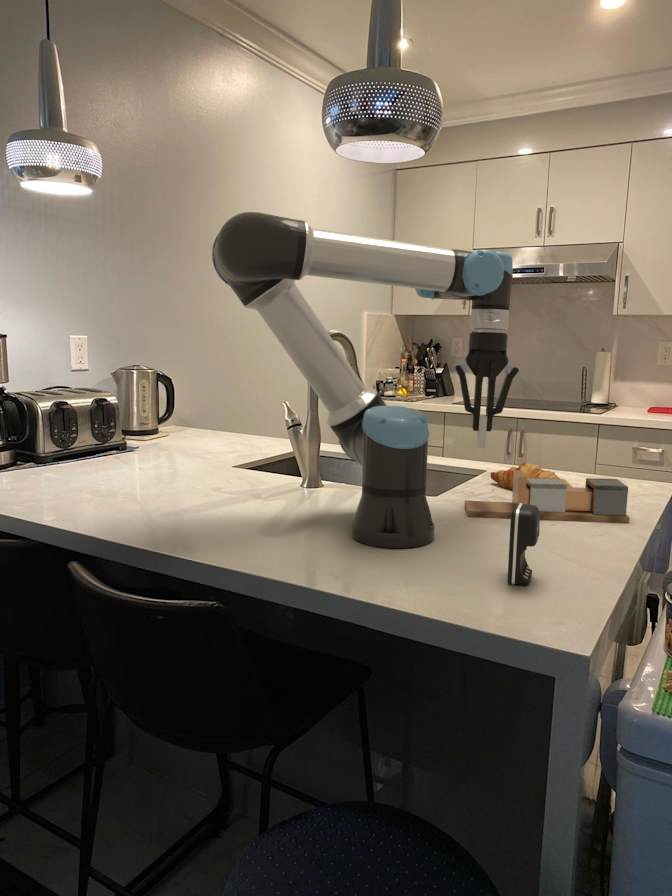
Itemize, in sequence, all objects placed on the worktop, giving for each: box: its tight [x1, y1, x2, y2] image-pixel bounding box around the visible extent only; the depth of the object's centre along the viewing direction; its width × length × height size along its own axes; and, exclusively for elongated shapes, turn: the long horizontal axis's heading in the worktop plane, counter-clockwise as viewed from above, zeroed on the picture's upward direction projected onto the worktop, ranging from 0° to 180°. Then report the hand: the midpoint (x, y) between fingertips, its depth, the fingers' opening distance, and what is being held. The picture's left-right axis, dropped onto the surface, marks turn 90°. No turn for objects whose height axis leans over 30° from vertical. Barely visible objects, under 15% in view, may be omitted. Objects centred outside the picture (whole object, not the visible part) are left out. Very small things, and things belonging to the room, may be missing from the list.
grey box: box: [584, 477, 629, 516], centre depth 139 cm, size 6×8×6 cm
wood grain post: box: [511, 470, 594, 511], centre depth 140 cm, size 20×7×7 cm, turn 84°
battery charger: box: [506, 503, 541, 586], centre depth 102 cm, size 7×4×11 cm, turn 159°
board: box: [464, 500, 630, 524], centre depth 141 cm, size 32×9×1 cm, turn 84°
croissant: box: [490, 462, 573, 491], centre depth 163 cm, size 21×10×8 cm, turn 51°
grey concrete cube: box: [526, 478, 567, 513], centre depth 140 cm, size 7×7×6 cm
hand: (480, 446), depth 140 cm, fingers closed
